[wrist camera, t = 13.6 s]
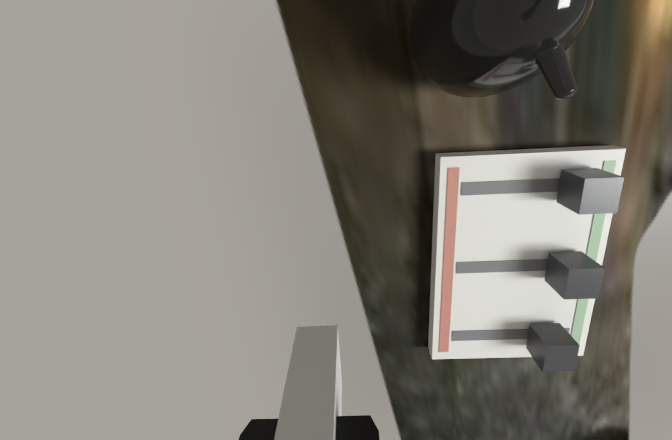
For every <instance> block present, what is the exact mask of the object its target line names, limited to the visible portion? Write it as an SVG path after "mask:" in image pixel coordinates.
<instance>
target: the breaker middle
mask: <svg viewBox="0 0 672 440" xmlns="http://www.w3.org/2000/svg"><path fill="white" fill-rule="evenodd" d="M604 270H605V268H604V267H603V266H601V265H600V264H599V263H597V262H596V261H594V260H593V259H591V258H590V257H589V256H587V255H586V254H584V253H583V252H582V251H572V252H549V254H548V260H547V267H546V274H545V281H546V282H547V283H548V284H549V285H550V286H551V287H552V288H553V289H554V290H555V291H556V292H557V293H558V294H559V295H560V296H561V297H562V298H563V299H596V298H599V294H600V289H601V285H602V280H603V275H604Z"/></svg>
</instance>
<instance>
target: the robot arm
mask: <svg viewBox="0 0 672 440" xmlns="http://www.w3.org/2000/svg"><path fill="white" fill-rule="evenodd" d="M341 409H342V378H341V364H340V350H339V336H338V326H309V327H297V330H296V335H295V340H294V345H293V350H292V355H291V359H290V364H289V370H288V374H287V379H286V384H285V389H284V394H283V399H282V404H281V409H280V413H279V418H278V419H253V420H251V421H250V422H249V424H248V425H247V427H246V428H245V429H244V431H243V432H242V433H241V435H240V437H239V440H379V431H378V429H377V427H376V425H375V424H374V422H373V420H372V418H371V416H341V412H342V410H341Z"/></svg>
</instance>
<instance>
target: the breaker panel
mask: <svg viewBox="0 0 672 440" xmlns="http://www.w3.org/2000/svg"><path fill="white" fill-rule="evenodd" d="M625 152H626V149H625V148H621V147H617V146H612V145H605V146H583V147H562V148H540V149H518V150H496V151H475V152H453V153H436V155H435V181H434V207H433V233H432V260H431V286H430V312H429V338H428V348H429V352H430V355H431V358H432V359H465V358H506V357H532V356H531V354H530V353H529V351H528V350H527V349H526V346H527V339H528V332H529V325H530V324H541V323H560V324H561V325H562V326H563V327H564V328H565V330H566V331H567V332H568V333H569V334H570V335H571V336H572V337H573V338H574V340H575V341H576V342H577V343H578V344H579V345H580V346H579V351H578V356H583V354H584V349H585V344H586V339H587V335H588V330H589V325H590V320H591V315H592V311H593V306H594V301H595V299H563V298H562V297H561V296H560V295H559V294H558V293H557V292H556V291H555V290H554V289H553V288H552V287H551V286H550V285H549V284H548V283H547V282H546V281H545V274H546V267H547V260H548V254H549V252H572V251H582V252H583V253H584V254H586V255H587V256H589V257H590V258H591V259H593V260H594V261H596V262H597V263H599V264H600V265H601V266H602V262H603V258H604V253H605V248H606V243H607V238H608V234H609V229H610V224H611V219H612V214H613V213H606V214H580V215H579V214H577V213H575V212H573V211H572V210H570V209H568V208H566V207H564V206H563V205H561V204H559V203H557V195H558V189H559V182H560V175H561V169H583V168H598V169H601V170H604V171H607V172H610V173H613V174H616V175H619V176H621V171H622V166H623V161H624V157H625Z"/></svg>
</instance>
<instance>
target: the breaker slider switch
mask: <svg viewBox="0 0 672 440" xmlns="http://www.w3.org/2000/svg"><path fill="white" fill-rule="evenodd" d="M579 346H580V345H579V344H578V343H577V342H576V341H575V340H574V338H573V337H572V336H571V335H570V334H569V333H568V332H567V331H566V330H565V328H564V327H563V326H562V325H561V324H560V323H541V324H530V325H529V332H528V339H527V346H526V349H527V350H528V351H529V353H530V354H531V356H532V357H533V359H534V360H535V362H536V363H537V365H538V366H539V367H540V369H541V370H542V372H562V371H575V366H576V361H577V356H578V351H579Z"/></svg>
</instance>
